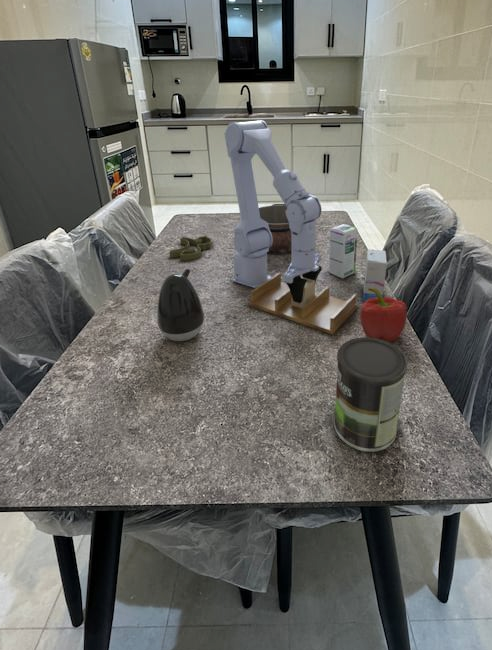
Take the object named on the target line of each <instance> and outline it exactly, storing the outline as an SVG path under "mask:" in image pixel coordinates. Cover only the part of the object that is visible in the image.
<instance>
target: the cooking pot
mask: <svg viewBox="0 0 492 650" xmlns="http://www.w3.org/2000/svg"><path fill="white" fill-rule="evenodd" d="M286 210H287V207H286V205H285V203H273V204H271V205H265V206H260V207H259V213H260V218H261V219H263V220H264V221H266V222H267V223H268V225H269V229H270V232H271V234H272V237H273V243H272V246H271V247H269V251H268V252H267V254H272V255H273V254H274V255H284V254H291V247H292V246H291V230H290V228H289V221H288V219H287V216H286Z"/></svg>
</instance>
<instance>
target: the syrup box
mask: <svg viewBox="0 0 492 650" xmlns="http://www.w3.org/2000/svg"><path fill="white" fill-rule="evenodd" d="M357 245H358V228H357V227H356V226H353V225H350V224H345V223H342V224H340V225H336V226H334V227H330V228H329V248H328V249H329V252H328V254H329V256H328V273H330V274H331V275H334V276H335V277H338V278H340V279H345V278H346V277H349V276H351V275H353V274H355V273H356V261H357Z"/></svg>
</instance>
